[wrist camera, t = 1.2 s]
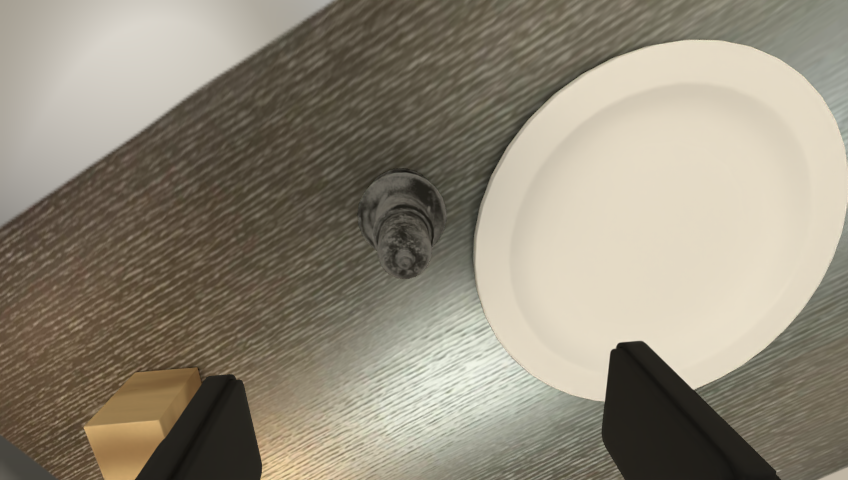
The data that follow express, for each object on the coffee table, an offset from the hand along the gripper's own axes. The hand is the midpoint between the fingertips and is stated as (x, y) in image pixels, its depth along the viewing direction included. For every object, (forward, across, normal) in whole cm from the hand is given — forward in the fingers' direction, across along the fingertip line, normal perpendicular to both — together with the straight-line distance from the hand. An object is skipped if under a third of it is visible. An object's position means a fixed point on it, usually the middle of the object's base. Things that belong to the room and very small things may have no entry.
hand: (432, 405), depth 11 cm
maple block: (+22, +20, +15) cm, 33 cm away
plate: (+22, -18, +4) cm, 29 cm away
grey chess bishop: (+22, 0, 0) cm, 22 cm away
